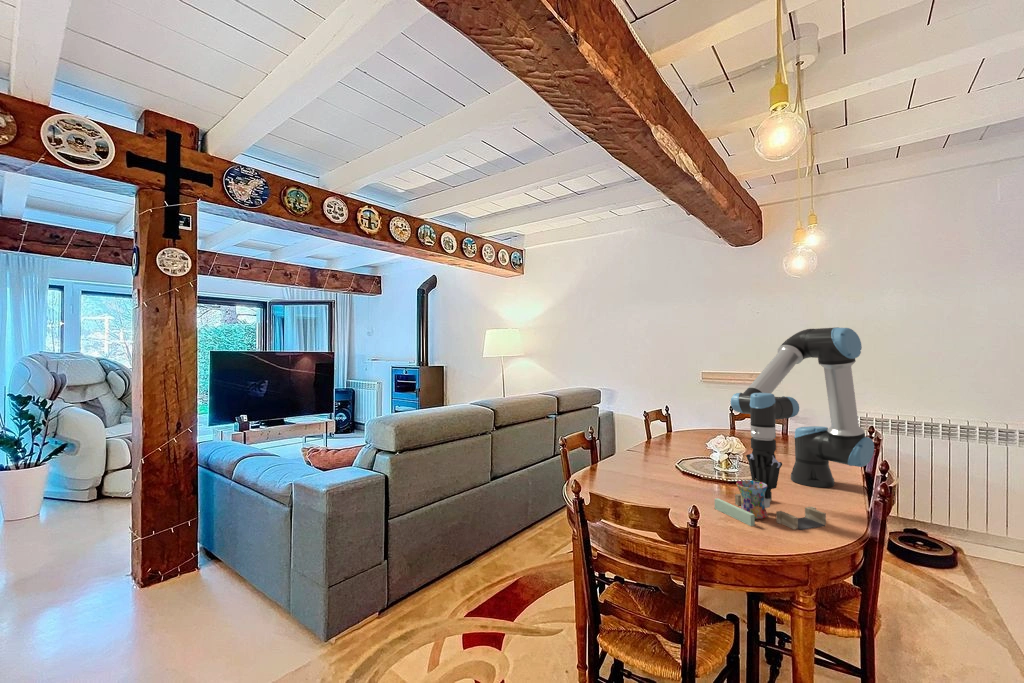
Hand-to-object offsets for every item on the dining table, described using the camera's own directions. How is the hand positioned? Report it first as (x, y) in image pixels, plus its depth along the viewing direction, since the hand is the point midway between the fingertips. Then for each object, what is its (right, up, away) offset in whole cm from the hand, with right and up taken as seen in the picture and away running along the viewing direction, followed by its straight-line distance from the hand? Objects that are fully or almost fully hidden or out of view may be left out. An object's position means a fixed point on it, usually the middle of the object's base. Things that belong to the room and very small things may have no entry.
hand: (764, 506), depth 152 cm
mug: (-5, -2, -2) cm, 6 cm away
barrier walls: (+4, -2, -1) cm, 5 cm away
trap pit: (+7, -2, -10) cm, 12 cm away
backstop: (-12, -2, -4) cm, 13 cm away
